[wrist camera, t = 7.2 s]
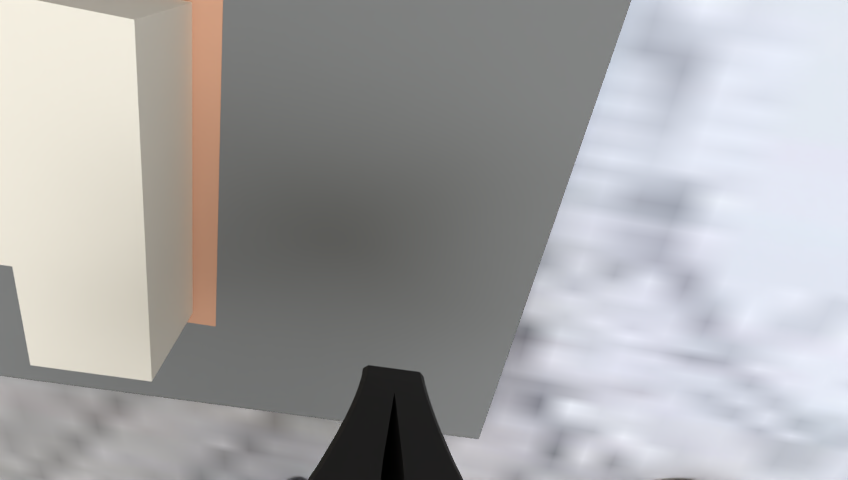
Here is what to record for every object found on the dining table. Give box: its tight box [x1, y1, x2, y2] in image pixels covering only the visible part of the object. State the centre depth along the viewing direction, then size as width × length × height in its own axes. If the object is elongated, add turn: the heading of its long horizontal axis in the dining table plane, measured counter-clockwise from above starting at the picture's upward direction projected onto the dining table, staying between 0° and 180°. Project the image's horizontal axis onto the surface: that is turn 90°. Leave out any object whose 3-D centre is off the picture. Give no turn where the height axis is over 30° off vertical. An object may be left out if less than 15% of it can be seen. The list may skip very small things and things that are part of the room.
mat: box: [0, 0, 631, 439], centre depth 20 cm, size 28×22×1 cm
